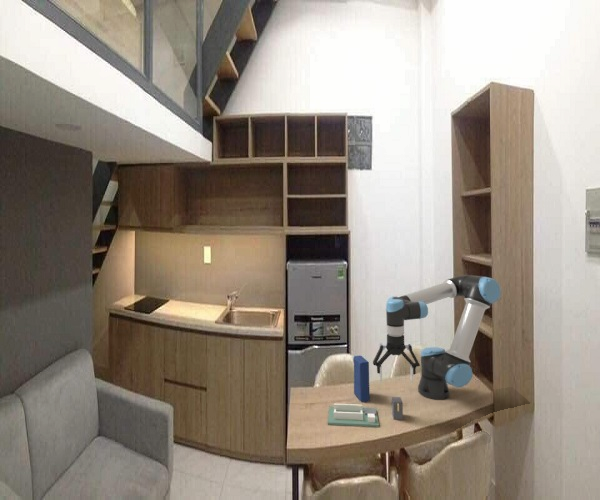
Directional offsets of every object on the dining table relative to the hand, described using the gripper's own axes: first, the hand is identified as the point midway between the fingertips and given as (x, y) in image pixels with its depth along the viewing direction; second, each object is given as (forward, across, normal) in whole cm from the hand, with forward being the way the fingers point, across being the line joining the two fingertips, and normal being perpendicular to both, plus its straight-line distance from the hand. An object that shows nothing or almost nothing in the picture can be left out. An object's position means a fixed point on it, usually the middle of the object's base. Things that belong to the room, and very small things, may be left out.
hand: (396, 380), depth 150 cm
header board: (+17, +20, +2) cm, 26 cm away
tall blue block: (+17, +15, -17) cm, 28 cm away
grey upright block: (+17, 0, 0) cm, 17 cm away
